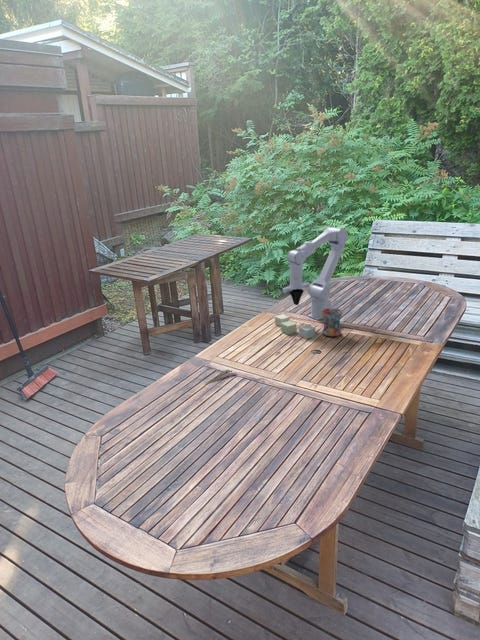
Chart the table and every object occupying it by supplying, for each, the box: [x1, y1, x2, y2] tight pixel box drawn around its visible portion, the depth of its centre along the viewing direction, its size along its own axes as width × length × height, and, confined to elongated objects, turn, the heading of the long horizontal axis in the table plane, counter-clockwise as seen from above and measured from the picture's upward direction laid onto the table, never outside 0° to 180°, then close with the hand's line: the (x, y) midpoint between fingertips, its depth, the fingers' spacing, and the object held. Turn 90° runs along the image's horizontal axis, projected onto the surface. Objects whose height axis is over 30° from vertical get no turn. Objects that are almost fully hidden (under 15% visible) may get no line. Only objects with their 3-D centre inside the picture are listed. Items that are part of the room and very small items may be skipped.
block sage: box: [280, 320, 297, 335], centre depth 208 cm, size 5×5×4 cm
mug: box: [321, 307, 344, 337], centre depth 202 cm, size 12×9×11 cm
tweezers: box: [201, 369, 238, 386], centre depth 168 cm, size 18×5×2 cm, turn 130°
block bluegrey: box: [298, 324, 316, 340], centre depth 202 cm, size 5×5×4 cm
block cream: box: [274, 313, 291, 327], centre depth 216 cm, size 5×5×4 cm
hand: (296, 304), depth 214 cm, fingers closed
